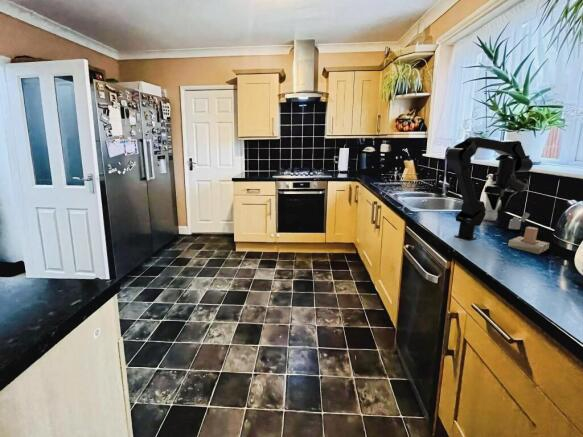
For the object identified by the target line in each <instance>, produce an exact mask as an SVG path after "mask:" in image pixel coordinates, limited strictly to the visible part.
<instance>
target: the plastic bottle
mask: <svg viewBox="0 0 583 437" xmlns="http://www.w3.org/2000/svg"><path fill="white" fill-rule="evenodd" d="M494 183H496V181H491V182H490V185H493V184H494ZM485 195H486V197H485V209H486V211H485V213H486V214H485V217H484V219H483V221H484V220H485V221H487V222H488V221H489V222H493V221H494V222H495V221H496V220H497V218H498V207H499V202H500V201H501V197H500V198H499V201H498V204H497V207H496V209H495V210H492V207H491V205H490V202H489V199H488V197H487V194H486V193H485Z"/></svg>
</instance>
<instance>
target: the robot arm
mask: <svg viewBox="0 0 583 437" xmlns="http://www.w3.org/2000/svg"><path fill="white" fill-rule="evenodd" d="M478 149H485V150H490V151H494V152H495V153H497V154H499V156H498V157H496V158H495V161H499V162H498V166H497V173H495V174H494V177H496V178H495V182H496V183H494V184H493V185H491V184H490V185H487V186H485V187H484V193H485V195H486V194H487V197H488V199H489V202H490V205H491V207H492V210H495V209H496V207H497V204H498V205H499V203H498V201H499V202H501V203H500V205H501V207H502V208H503V209H504V208H506V207H507V206H508V204H509V201H510V200H511V198H512V196H514V195H516V194H517V193H522V192H523V193H524V192H525V191H526V190H527V189H528V188H529V187H530V184H529V182H530V181H529V180H528V179H526V178H523V179H518V178H517V176H516V174H515V173H516V172H518V173H521V172H523V173H524V172H525V173H526V172H529V171H531V170H532V168H533V167H534V166H533V165H534V164H533V161H532V159H531V158H530V157H531V156H530V155H526V153H525V149H524V147H523V145H522V142H521V141H519V140H496V139H490V138H485V137H481V136H469V137H467V138H465V139H464V140H463V141H461V142H459V143H458V144H456V145H454V146H453V147H451V148H450V149H448V150H447V151H446V153H445V160H446V162H447V164H448V166H449V167H450V168H451V169H452V170H453V172H454V173H455V176H456V181H457V185H458V188H459V191H460V195H461V198H462V204H461V207H460V208H461V209H460V211H459V212H458V214H457V215H455V217H454V218H455V221H456V222H459V228H458V232H457V234H455V235H454V237H456V238H460V239H463V240H466V241H473V240H475V239H478V238H477V237H478V236H476V235H475V229H476V227H478V226H479V227H480V226H481V225H482V223H483V221H484V217H485V214H486V213H485V211H486V209H485V205H486V203H485V201H482V200H478V198H477V195H476V190H475V187H474V183H473V180H472V176H471V172H470V165H471V163H472V157H473V156H474V155H476V153H477V151H478ZM499 198H500V200H499Z"/></svg>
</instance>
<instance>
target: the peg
mask: <svg viewBox="0 0 583 437" xmlns="http://www.w3.org/2000/svg"><path fill="white" fill-rule="evenodd" d="M538 232H539V228H537V227H534V226H533V227H532V226H526V227H525V230H524V235H523V237H524V239H523V242H526V243H530V244H535V241H536V240H537V235H538Z"/></svg>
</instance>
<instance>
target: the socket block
mask: <svg viewBox="0 0 583 437" xmlns="http://www.w3.org/2000/svg"><path fill="white" fill-rule="evenodd" d="M523 239H524V236H517V237H514V238H511V239H509V240H508V245H507V247H509V248H513V249H517V250H521V251H524V252H525V251H526V252H528V253H532V254H537V255H540V254H542V253H543V252H545V251H547V249H548V250H549V247H550V242H546V241H543V240H542V241H541V240H538V239H536V241H535V244H530V243H526V242H523Z"/></svg>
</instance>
